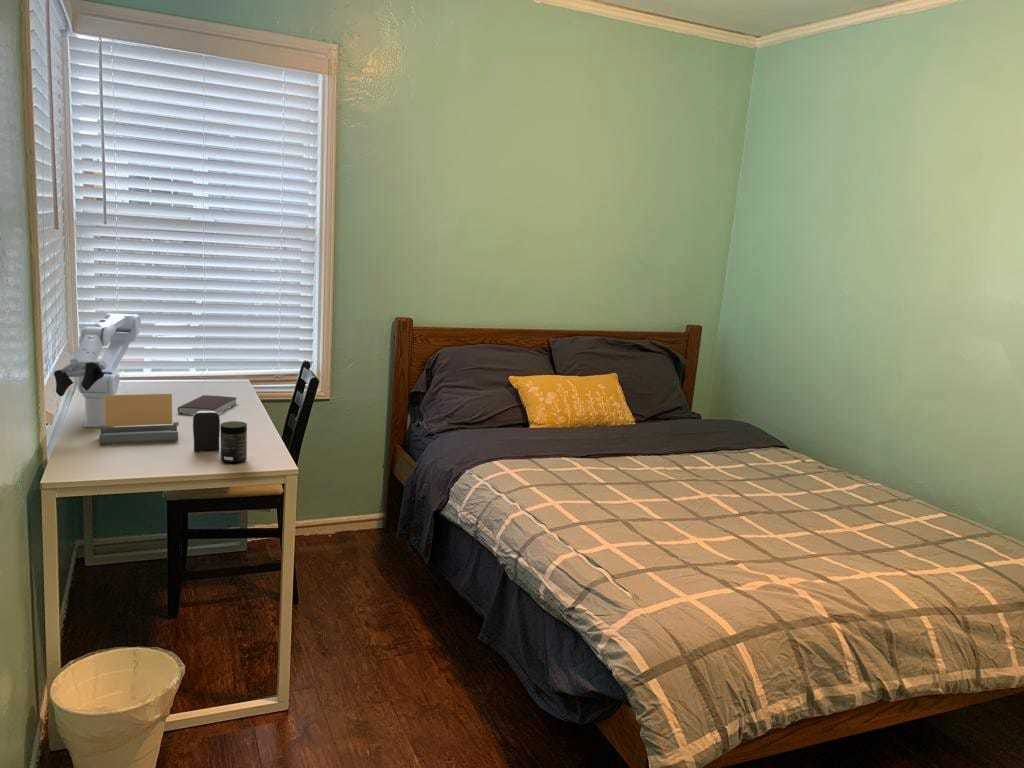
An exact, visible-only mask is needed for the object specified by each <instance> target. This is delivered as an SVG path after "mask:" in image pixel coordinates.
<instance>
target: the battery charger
mask: <svg viewBox="0 0 1024 768" xmlns="http://www.w3.org/2000/svg"><path fill="white" fill-rule="evenodd" d="M220 418H221V417H220V414H218V412H217V411H197V412H196V413H195V414H194V415H192V434H193V436H192V437H193V452H196V453H197V452H199V453H203V452H204V453H205V452H218V451H220V437H221V431H220V430H221V419H220Z"/></svg>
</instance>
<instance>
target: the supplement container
mask: <svg viewBox="0 0 1024 768" xmlns="http://www.w3.org/2000/svg"><path fill="white" fill-rule="evenodd" d="M247 446H248V423H246V422H244V421H237V420H235V421H233V420H232V421H225V422H222V423H220V461H221V462H222V463H223V464H225V465H229V466H230V465H231V466H234V465H235V466H236V465H240V464H244V463H245V462H246V461H247V459H248V450H247V449H248V447H247Z"/></svg>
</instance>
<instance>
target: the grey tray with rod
mask: <svg viewBox="0 0 1024 768" xmlns="http://www.w3.org/2000/svg"><path fill="white" fill-rule="evenodd" d="M179 424H180V423H179V421H172V424H159V425H134V426H109V427H105V426H104V425H98V427H97V428H98V430H100V434H99V435H98V437H99V438H98V439H99V440H98V441H99V446H101V447H102V446H120V445H122V444H123V445H142V443H144V444H156V442H164V443H176V442H175V441H178V442H179V431H178V427H179V426H180V425H179ZM140 443H141V444H140Z"/></svg>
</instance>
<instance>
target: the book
mask: <svg viewBox="0 0 1024 768" xmlns="http://www.w3.org/2000/svg"><path fill="white" fill-rule="evenodd" d="M237 399H238V398H237V397H235V396H223V395H222V396H221V395H207V394H206V395H205V394H203V395H201V396H199V397H197V398H195V399H193V400H190V401H188V402H186V403H183V404H182V405H180V406H178V407H177V414H178V413H183V414H182V415H186V414H195V413H196V412H197V411H217V412H218V414H219V413H221V412H223V411H224V410H226V409H228V408H229V407H231V406H233V405H235V404H237ZM235 406H236V405H235ZM233 407H234V406H233ZM231 408H232V407H231ZM229 409H230V408H229ZM229 409H228V410H229ZM226 411H227V410H226ZM224 412H225V411H224ZM224 412H223V413H224ZM221 414H222V413H221ZM219 415H220V414H219Z"/></svg>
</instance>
